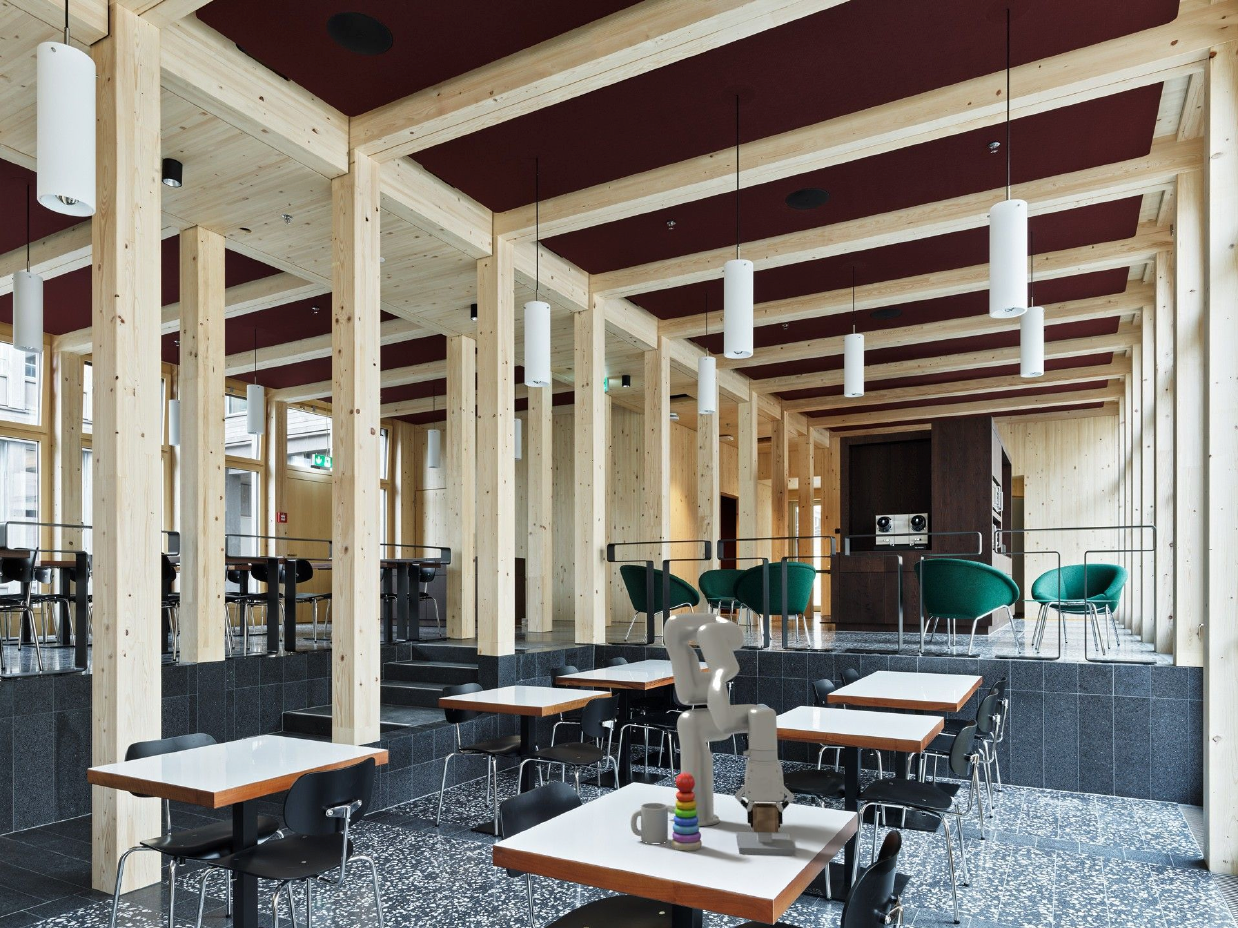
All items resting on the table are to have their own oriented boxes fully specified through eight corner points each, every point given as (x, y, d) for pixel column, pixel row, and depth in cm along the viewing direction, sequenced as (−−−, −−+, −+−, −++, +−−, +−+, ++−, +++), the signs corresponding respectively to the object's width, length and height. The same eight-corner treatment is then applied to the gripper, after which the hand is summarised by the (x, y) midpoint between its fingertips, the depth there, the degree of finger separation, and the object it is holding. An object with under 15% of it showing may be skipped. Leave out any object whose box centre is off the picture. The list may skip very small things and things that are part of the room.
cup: (668, 844, 228) (668, 809, 229) (630, 844, 228) (631, 808, 229) (667, 837, 235) (666, 802, 236) (630, 836, 235) (630, 802, 236)
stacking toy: (671, 842, 230) (671, 769, 233) (701, 843, 229) (701, 769, 232) (670, 850, 222) (670, 775, 225) (701, 851, 221) (701, 775, 224)
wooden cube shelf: (753, 832, 224) (753, 807, 225) (752, 825, 231) (751, 802, 232) (778, 832, 224) (777, 808, 225) (776, 826, 230) (775, 802, 231)
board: (739, 853, 220) (739, 832, 221) (736, 837, 235) (736, 818, 236) (794, 855, 219) (794, 834, 220) (788, 839, 234) (788, 819, 234)
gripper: (731, 757, 227) (732, 829, 224) (797, 758, 226) (800, 830, 223) (729, 752, 235) (731, 822, 232) (794, 753, 233) (796, 823, 230)
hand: (765, 825), depth 227 cm, fingers closed on wooden cube shelf, 6 cm apart
